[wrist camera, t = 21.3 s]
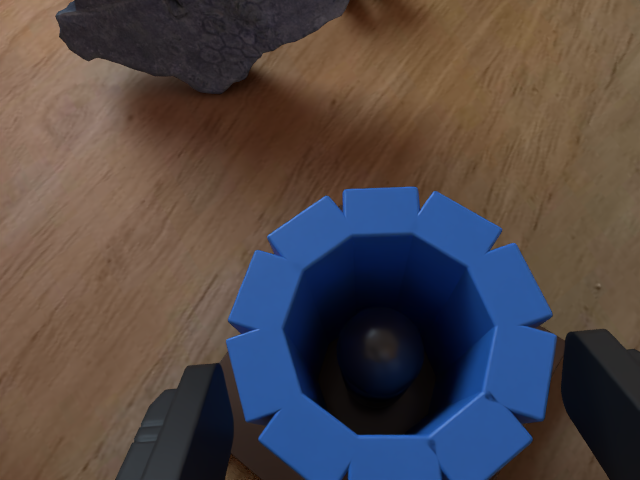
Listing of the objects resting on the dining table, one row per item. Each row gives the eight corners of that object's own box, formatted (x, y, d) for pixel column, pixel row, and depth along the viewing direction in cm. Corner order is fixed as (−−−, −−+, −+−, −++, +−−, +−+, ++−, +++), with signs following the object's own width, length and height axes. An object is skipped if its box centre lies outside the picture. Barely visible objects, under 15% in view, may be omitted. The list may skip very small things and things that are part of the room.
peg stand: (417, 602, 16) (463, 736, 9) (191, 413, 19) (83, 394, 12) (557, 349, 19) (683, 288, 12) (341, 216, 22) (330, 98, 14)
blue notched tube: (406, 522, 16) (448, 598, 8) (250, 398, 18) (163, 363, 10) (503, 358, 18) (615, 290, 10) (351, 260, 20) (344, 138, 12)
